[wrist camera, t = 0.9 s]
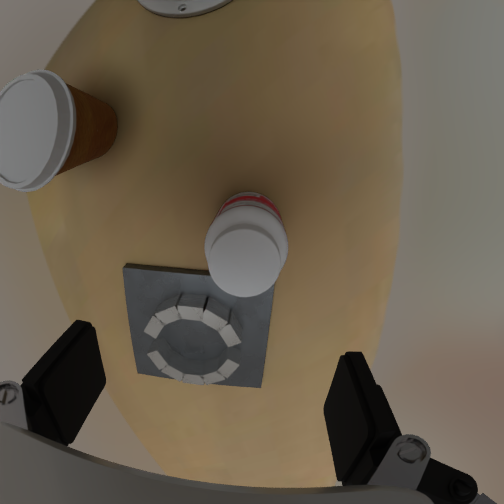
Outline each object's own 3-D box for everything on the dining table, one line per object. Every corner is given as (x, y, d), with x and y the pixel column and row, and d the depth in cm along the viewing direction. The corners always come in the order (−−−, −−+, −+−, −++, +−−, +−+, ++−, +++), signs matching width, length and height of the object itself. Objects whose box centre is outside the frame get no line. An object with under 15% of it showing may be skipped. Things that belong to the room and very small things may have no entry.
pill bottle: (250, 263, 31) (246, 323, 21) (204, 223, 30) (176, 266, 19) (293, 220, 30) (313, 263, 19) (248, 177, 28) (241, 196, 18)
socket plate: (126, 263, 31) (112, 277, 28) (274, 276, 32) (276, 293, 28) (140, 367, 36) (131, 386, 33) (260, 381, 37) (261, 402, 33)
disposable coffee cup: (124, 179, 28) (56, 202, 17) (54, 169, 28) (-22, 188, 17) (140, 87, 25) (76, 61, 14) (66, 86, 25) (-9, 74, 13)
